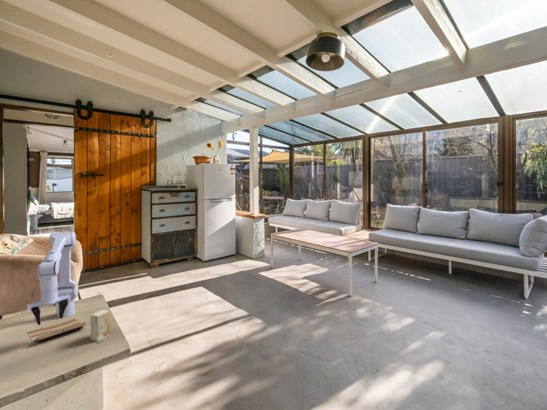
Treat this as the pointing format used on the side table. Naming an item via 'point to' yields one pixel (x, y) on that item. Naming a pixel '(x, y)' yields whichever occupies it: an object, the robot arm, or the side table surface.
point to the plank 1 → (49, 335)
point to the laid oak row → (52, 328)
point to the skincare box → (100, 325)
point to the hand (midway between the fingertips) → (50, 320)
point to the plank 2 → (73, 327)
